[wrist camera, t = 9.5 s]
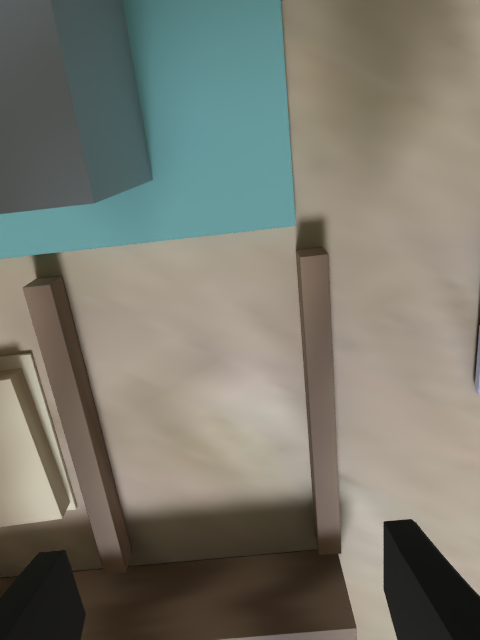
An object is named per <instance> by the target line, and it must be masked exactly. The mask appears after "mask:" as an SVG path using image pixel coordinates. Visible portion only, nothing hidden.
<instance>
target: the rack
mask: <svg viewBox="0 0 480 640" xmlns="http://www.w3.org/2000/svg"><path fill="white" fill-rule="evenodd" d="M296 259H297V273H298V288H299V303H300V317H301V332H302V347H303V361H304V376H305V391H306V406H307V420H308V435H309V450H310V464H311V479H312V494H313V508H314V523H315V536H316V541H317V546H318V550H314V551H302V552H291V553H280V554H268V555H257V556H246V557H234V558H223V559H212V560H201V561H189V562H178V563H167V564H155V565H144V566H133V567H128V564H129V560H130V556H131V552H132V550H131V546H130V542H129V538H128V534H127V530H126V526H125V522H124V518H123V515H122V511H121V507H120V503H119V499H118V495H117V491H116V487H115V483H114V479H113V475H112V471H111V467H110V463H109V460H108V456H107V452H106V448H105V444H104V440H103V436H102V432H101V428H100V424H99V420H98V416H97V412H96V409H95V405H94V401H93V397H92V393H91V389H90V385H89V381H88V377H87V373H86V369H85V365H84V361H83V358H82V354H81V350H80V346H79V342H78V338H77V334H76V330H75V326H74V322H73V318H72V314H71V310H70V307H69V303H68V299H67V295H66V291H65V287H64V283H63V279H62V276H57V277H48V278H39V279H35V280H34V281H32V282H31V283H29V284H27V285H26V286H24V287H23V291H24V294H25V298H26V301H27V305H28V308H29V312H30V315H31V319H32V322H33V326H34V329H35V333H36V336H37V339H38V343H39V346H40V350H41V353H42V357H43V360H44V364H45V367H46V371H47V374H48V378H49V381H50V385H51V388H52V391H53V395H54V398H55V402H56V405H57V409H58V412H59V416H60V419H61V423H62V426H63V430H64V433H65V437H66V440H67V443H68V447H69V450H70V454H71V457H72V461H73V464H74V468H75V471H76V475H77V478H78V482H79V485H80V489H81V492H82V495H83V499H84V502H85V506H86V509H87V513H88V516H89V520H90V523H91V527H92V530H93V534H94V537H95V541H96V544H97V547H98V551H99V554H100V558H101V561H102V565H103V568H104V569H99V570H87V571H76V572H73V576H74V579H75V582H76V585H77V588H78V591H79V594H80V597H81V600H82V604H83V607H84V610H85V613H86V616H85V621H84V626H83V631H82V636H81V640H357V628H356V624H355V620H354V616H353V612H352V608H351V604H350V600H349V596H348V592H347V588H346V584H345V580H344V576H343V572H342V568H341V564H340V560H339V556H338V554H340V553H341V536H340V513H339V490H338V466H337V443H336V420H335V397H334V373H333V350H332V327H331V304H330V280H329V257H328V253H327V252H326V251H325V250H324V249H323V247H321V248H312V249H303V250H296ZM16 579H17V577H8V578H0V597H1V596H2V595H3V594H4V592H5V591H6V590H7V589H8V588H9V587H10V585H11V584H12V583H13V582H14V581H15V580H16Z"/></svg>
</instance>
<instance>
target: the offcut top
mask: <svg viewBox="0 0 480 640" xmlns="http://www.w3.org/2000/svg"><path fill="white" fill-rule="evenodd" d="M69 504H70V501H69V498H68V495H67V492H66V490H65V487H64V484H63V481H62V479H61V476H60V473H59V470H58V468H57V465H56V462H55V459H54V456H53V454H52V451H51V448H50V445H49V443H48V440H47V437H46V434H45V431H44V429H43V426H42V423H41V420H40V418H39V415H38V412H37V409H36V406H35V404H34V401H33V398H32V395H31V393H30V390H29V387H28V384H27V382H26V379H25V376H24V373H23V371H22V368H17V369H10V370H4V371H0V527H4V526H11V525H19V524H26V523H34V522H41V521H49V520H56V519H62V518H63V516H64V514H65V512H66V510H67V508H68V506H69Z"/></svg>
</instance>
